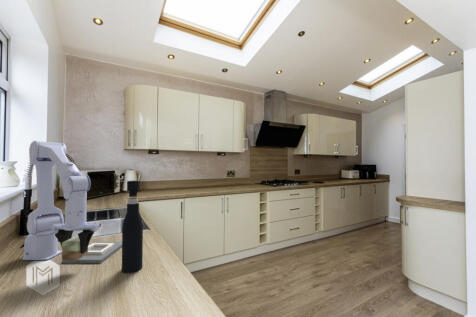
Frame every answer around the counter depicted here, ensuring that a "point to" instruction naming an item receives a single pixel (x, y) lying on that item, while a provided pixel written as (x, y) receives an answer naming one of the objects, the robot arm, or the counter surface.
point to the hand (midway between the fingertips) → (75, 252)
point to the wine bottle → (132, 232)
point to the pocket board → (98, 252)
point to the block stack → (72, 249)
